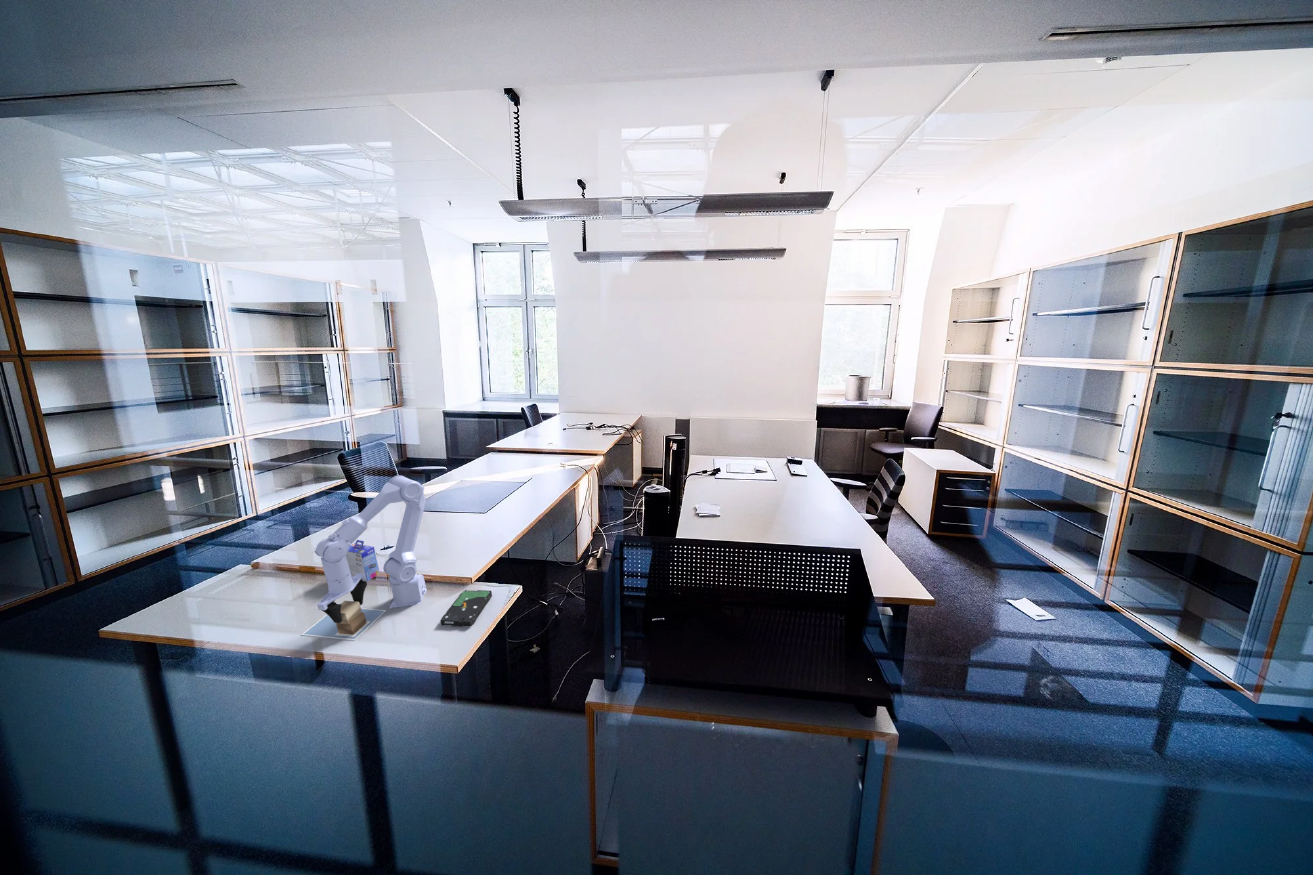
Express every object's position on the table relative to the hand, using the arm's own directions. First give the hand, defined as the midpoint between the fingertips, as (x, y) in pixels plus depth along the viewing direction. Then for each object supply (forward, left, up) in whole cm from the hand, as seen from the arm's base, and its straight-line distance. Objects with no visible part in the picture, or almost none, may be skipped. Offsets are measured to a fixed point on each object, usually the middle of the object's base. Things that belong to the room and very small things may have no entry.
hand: (348, 612), depth 122 cm
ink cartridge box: (+8, -29, -7) cm, 31 cm away
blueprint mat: (+4, -3, -6) cm, 8 cm away
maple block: (+1, 0, -2) cm, 2 cm away
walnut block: (0, 0, -6) cm, 6 cm away
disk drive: (-33, -1, -7) cm, 34 cm away
